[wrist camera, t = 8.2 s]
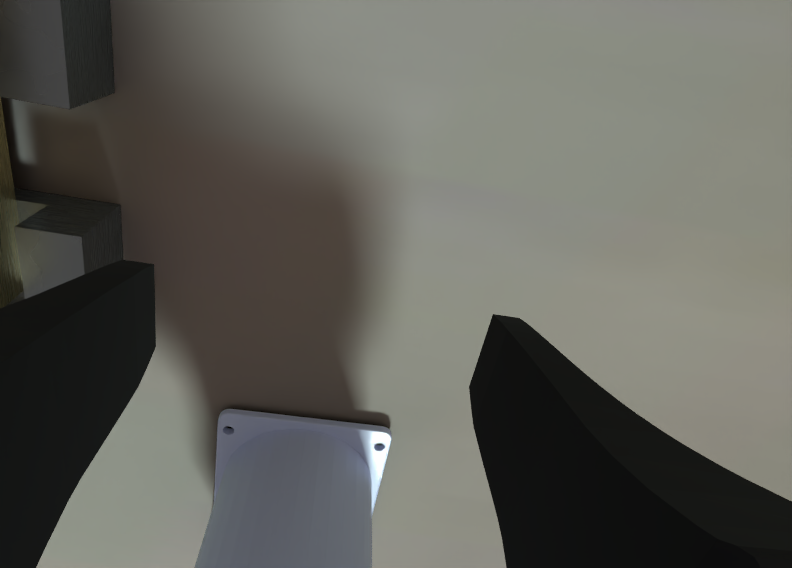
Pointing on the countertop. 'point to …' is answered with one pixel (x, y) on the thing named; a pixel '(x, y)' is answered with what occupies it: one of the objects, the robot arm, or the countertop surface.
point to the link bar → (8, 226)
